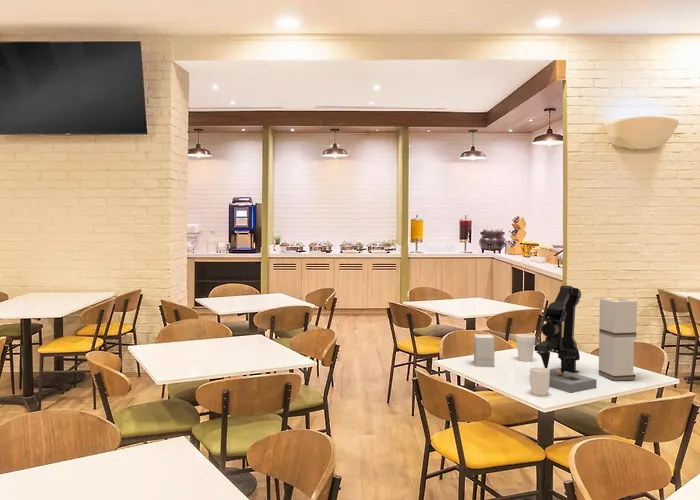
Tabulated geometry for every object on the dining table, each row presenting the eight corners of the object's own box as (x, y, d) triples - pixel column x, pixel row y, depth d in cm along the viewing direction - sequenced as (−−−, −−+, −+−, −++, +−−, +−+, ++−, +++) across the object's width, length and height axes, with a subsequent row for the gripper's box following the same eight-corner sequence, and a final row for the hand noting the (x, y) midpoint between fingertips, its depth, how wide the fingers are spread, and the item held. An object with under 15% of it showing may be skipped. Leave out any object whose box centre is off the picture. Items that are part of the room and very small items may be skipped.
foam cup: (537, 360, 293) (537, 335, 292) (532, 364, 285) (532, 338, 284) (518, 358, 298) (519, 333, 297) (513, 361, 290) (513, 336, 289)
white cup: (526, 391, 237) (526, 367, 237) (544, 390, 238) (545, 366, 238) (534, 396, 229) (534, 372, 229) (553, 396, 230) (553, 371, 230)
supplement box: (492, 364, 285) (492, 334, 284) (494, 368, 276) (495, 337, 275) (473, 363, 286) (473, 333, 285) (475, 368, 277) (475, 337, 276)
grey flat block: (555, 375, 262) (555, 368, 262) (596, 387, 243) (596, 379, 242) (529, 380, 254) (529, 372, 254) (570, 392, 235) (570, 384, 235)
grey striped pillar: (635, 379, 256) (637, 301, 255) (613, 380, 254) (615, 301, 253) (619, 373, 267) (620, 298, 266) (598, 374, 266) (599, 298, 264)
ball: (566, 368, 247) (566, 376, 248) (561, 366, 251) (561, 374, 251) (559, 369, 246) (559, 377, 247) (554, 366, 250) (554, 374, 250)
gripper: (525, 332, 256) (524, 367, 255) (558, 338, 239) (557, 375, 239) (543, 331, 261) (543, 366, 260) (577, 337, 244) (576, 374, 244)
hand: (554, 370), depth 251 cm, fingers open, 9 cm apart
